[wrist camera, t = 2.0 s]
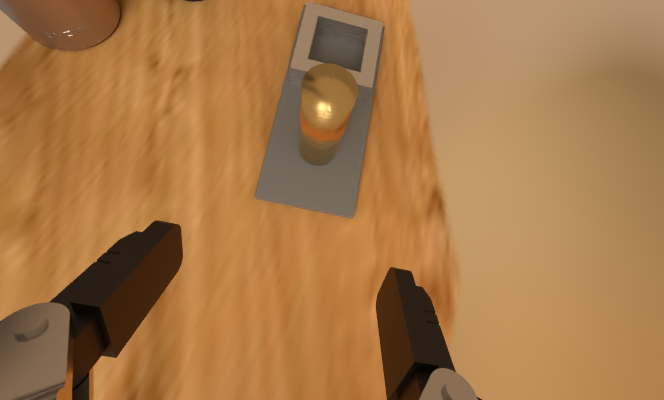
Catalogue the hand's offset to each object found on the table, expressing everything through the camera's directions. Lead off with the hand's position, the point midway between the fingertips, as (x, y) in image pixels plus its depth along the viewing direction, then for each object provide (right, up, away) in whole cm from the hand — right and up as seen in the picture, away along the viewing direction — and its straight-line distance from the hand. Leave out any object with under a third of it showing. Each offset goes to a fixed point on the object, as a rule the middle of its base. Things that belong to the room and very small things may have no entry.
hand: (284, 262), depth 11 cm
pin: (0, +8, +18) cm, 20 cm away
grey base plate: (+1, +13, +20) cm, 24 cm away
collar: (+2, +18, +21) cm, 28 cm away
